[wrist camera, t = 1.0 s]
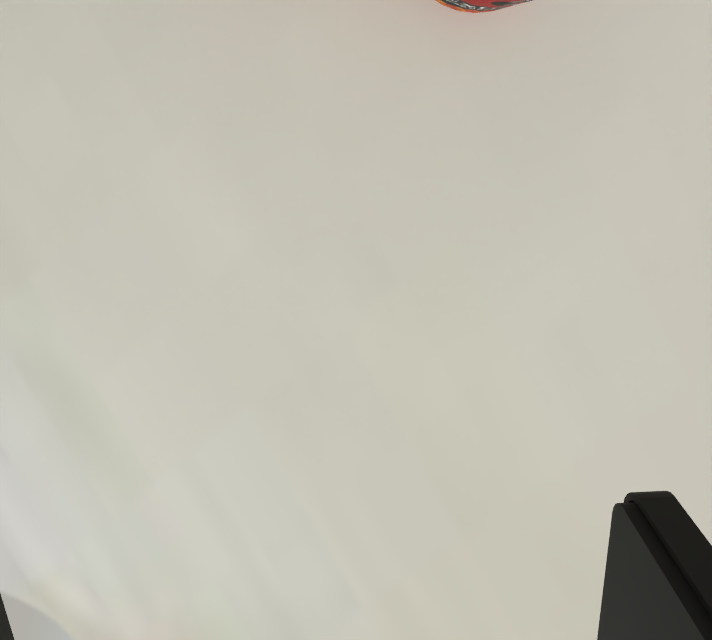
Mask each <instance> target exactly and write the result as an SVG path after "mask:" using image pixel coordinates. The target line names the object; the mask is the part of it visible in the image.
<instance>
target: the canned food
mask: <svg viewBox="0 0 712 640" xmlns="http://www.w3.org/2000/svg"><path fill="white" fill-rule="evenodd" d="M436 1H437V2H439V3H440V4H442V5H444V6H447V7H450V8H452V9H455V10H458V11H464V12H472V13H478V12H489V11H494V10H498V9H502V8H505V7H509V6H513V5H517V4H520V3H524V2H528V1H532V0H436Z"/></svg>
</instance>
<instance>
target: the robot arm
mask: <svg viewBox="0 0 712 640" xmlns="http://www.w3.org/2000/svg"><path fill="white" fill-rule="evenodd" d="M0 640H14V637H13V634H12V631H11V628H10V624H9V621H8V618H7V614H6V611H5V608H4V604H3V601H2V598H1V594H0ZM597 640H712V546H711V544H710V543H709V542H708V540H707V539H706V538H705V536H704V535H703V534H702V532H701V531H700V530H699V528H698V527H697V526H696V524H695V523H694V522H693V520H692V519H691V518H690V516H689V515H688V514H687V512H686V511H685V510H684V508H683V507H682V506H681V504H680V503H679V502H678V500H677V499H676V498H675V496H674V495H673V494H672V493H671V492H668V491H653V492H632V493H628V494H627V495H626V497H625V499H624V503H617V504H615V506H614V507H613V512H612V520H611V529H610V537H609V546H608V554H607V562H606V571H605V579H604V587H603V596H602V604H601V613H600V621H599V629H598V639H597Z"/></svg>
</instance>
